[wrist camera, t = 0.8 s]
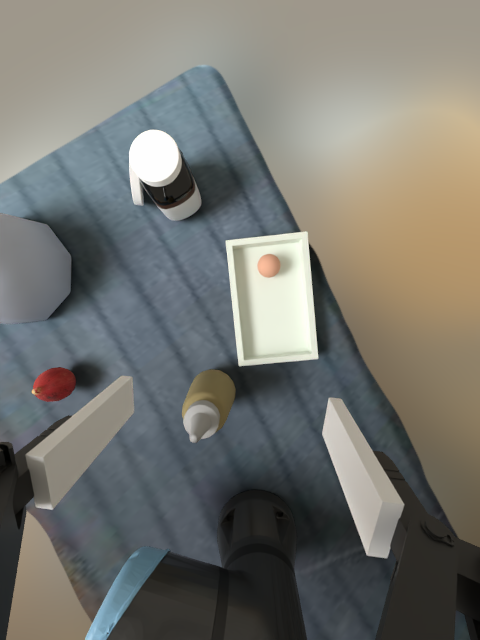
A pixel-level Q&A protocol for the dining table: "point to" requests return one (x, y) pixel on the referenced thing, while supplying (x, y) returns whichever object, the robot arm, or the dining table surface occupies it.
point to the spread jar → (162, 175)
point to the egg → (268, 265)
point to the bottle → (31, 271)
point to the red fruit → (54, 384)
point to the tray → (272, 300)
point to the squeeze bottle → (207, 404)
